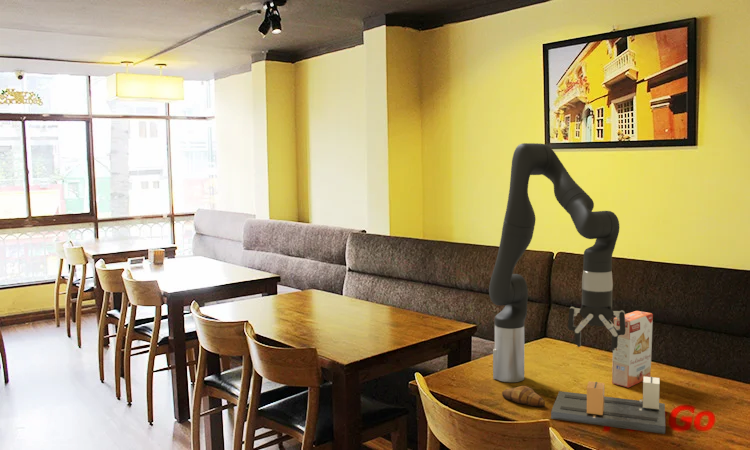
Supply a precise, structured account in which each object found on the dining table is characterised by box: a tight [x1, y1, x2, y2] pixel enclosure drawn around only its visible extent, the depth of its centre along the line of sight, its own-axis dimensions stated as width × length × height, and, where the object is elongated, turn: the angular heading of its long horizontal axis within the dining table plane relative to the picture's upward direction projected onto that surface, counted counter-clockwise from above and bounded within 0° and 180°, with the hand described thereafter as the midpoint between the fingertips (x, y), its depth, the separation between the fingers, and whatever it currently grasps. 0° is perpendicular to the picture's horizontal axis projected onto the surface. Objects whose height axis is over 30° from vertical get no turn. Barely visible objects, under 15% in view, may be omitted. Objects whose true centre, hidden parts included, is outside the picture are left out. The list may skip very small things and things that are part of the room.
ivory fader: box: [642, 376, 660, 409], centre depth 175 cm, size 4×5×7 cm
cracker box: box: [611, 310, 654, 388], centre depth 200 cm, size 14×6×21 cm, turn 130°
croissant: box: [501, 385, 546, 408], centre depth 186 cm, size 14×7×5 cm, turn 47°
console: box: [550, 390, 666, 435], centre depth 176 cm, size 28×17×2 cm, turn 67°
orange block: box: [586, 380, 605, 415], centre depth 172 cm, size 4×5×7 cm
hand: (596, 347), depth 171 cm, fingers open, 8 cm apart
